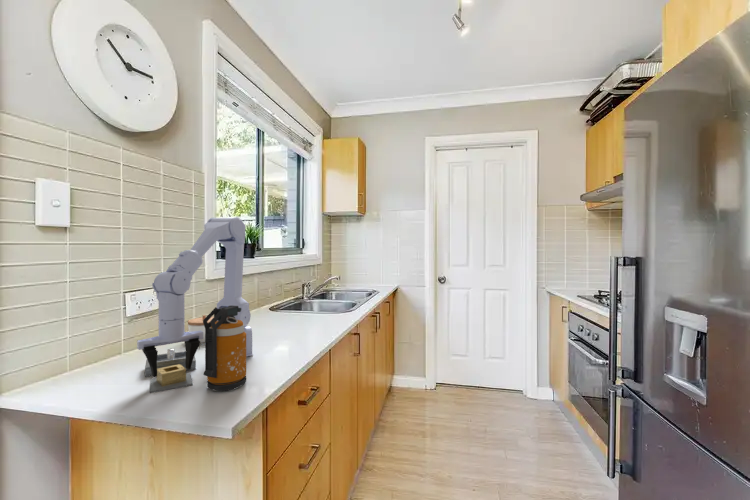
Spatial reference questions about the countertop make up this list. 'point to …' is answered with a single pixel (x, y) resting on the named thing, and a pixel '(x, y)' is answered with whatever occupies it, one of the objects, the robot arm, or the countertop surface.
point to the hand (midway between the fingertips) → (171, 371)
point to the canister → (225, 349)
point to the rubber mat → (157, 387)
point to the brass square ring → (171, 375)
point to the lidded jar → (198, 326)
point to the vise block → (170, 361)
